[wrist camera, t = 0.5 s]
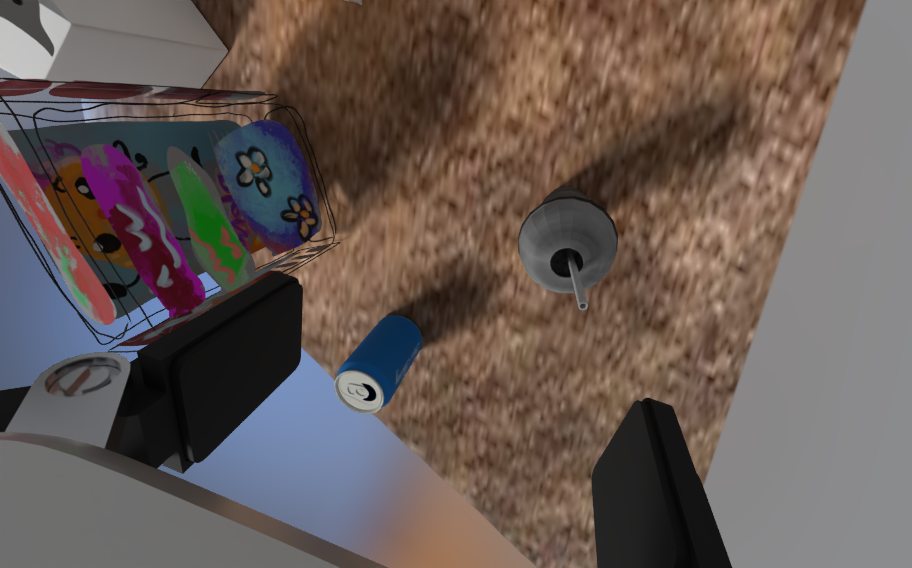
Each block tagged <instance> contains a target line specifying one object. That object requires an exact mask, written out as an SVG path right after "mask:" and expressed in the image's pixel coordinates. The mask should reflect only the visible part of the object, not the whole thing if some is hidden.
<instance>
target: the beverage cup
mask: <svg viewBox="0 0 912 568" xmlns="http://www.w3.org/2000/svg"><path fill="white" fill-rule="evenodd" d="M617 244H618V234H617V231H616V227H615V224H614V221H613V220H612V218H611V217H610V216H609V214H608V213H607V212H606V211H605V209H604V208H602V207H601V206H599V205H597V204H596V203H594V202H593V201H591V200H589V199H588V198H587V197H586V195H585V194H584V193H582V192H581V191H579V190H577V189H576V188H572V187H561V188H559V189H556V190H554V191H553V192H552V193H550V194H549V195H548V196H547V197H546V198H545V200H544V201H543V203H542V204H541V205H539V206H538V207H537V208H536V209H534V210H533V211H532V212H530V214H529V215H528V217H527V218H526V220H525V221H524V223H523V224H522V226H521V230H520V233H519V237H518V252H519V255H520V258H521V261H522V263H523V266H524V268H525V271H526V272H527V273H528V274H529V276H530V277H531V278H532V279H533V280H534V281H535V282H536V283H537V284H539V285H541V286H542V287H544V288H545V289H547V290H551V291H554V292H558V293H575V294H576V298H577V303H578V307H579V309H581V310H585V309H587V307H588V305H587V301H586V297H585V294H584V290H586V289H588V288H590V287H591V286H593V285H595V284H596V283H598V282H599V281H600V280H601V279H602V278H603V277H604V276H605V275H606V273H607V272H608V271H609V270H610V268H611V265H612V263H613V261H614V258H615V256H616V252H617Z"/></svg>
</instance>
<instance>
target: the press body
mask: <svg viewBox="0 0 912 568" xmlns="http://www.w3.org/2000/svg"><path fill="white" fill-rule="evenodd" d="M345 1H349V2H353V3H356V4H360V5H362V0H345Z"/></svg>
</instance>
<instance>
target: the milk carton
mask: <svg viewBox="0 0 912 568" xmlns="http://www.w3.org/2000/svg"><path fill="white" fill-rule="evenodd" d="M38 1H39V5H40V21H41V24H42V26H43V28H44V30H45V32H46V33H47V35H48V36H49V38H50V40H51V42H52V43H53V46H54V54H53V56H51V55H50V54H49V53H48V51H47V50H46V49H45V48H44V47H43V46H42V45H41V44H39V43H38V42H37V41H36V40H35V39H33V38H32V37H31V36H29V35H28V34H27V33H25V32H24V31H23V30H21V29H20V28H18V27H17V26H15V25H14V24H13V23H11V22H9V21H8V20H6V19H4V18H2V17H0V68H2V69H4V70H6V71H8V72H9V73H11V74H14V75H16V76H17V77H19V78H21V79H45V80H49V81H67V82H73V80H79V81H92V82H105V83H126V84H141V85H158V86H175V87H188V88H199V89H201V87H202V86H203V85H204V83H205V82H206V81H207V79H208V78H209V77H210V75H211V74H212V73H213V72H214V70H215V69H216V68H217V66H218V65H219V64H220V62H221V61H222V60H223V58H224V57H225V56H226V54H227V53H228V50H227V48H226V47H225V46H224V44H223V43H222V42H221V40H220V39H219V37H218V36H217V35H216V33H215V32H214V31H213V29H212V28H211V27H210V25H209V24H208V23H207V21H206V20H205V19H204V17H203V16H202V15H201V13H200V12H199V10H198V9H197V8H196V6H195V5H194V4H193V2H192V1H191V0H38ZM62 84H65V83H52V85H51V86H50V87H49V88H54V87H56V86H59V85H62ZM150 87H152V88H153V90H152V91H151V92H161V91H163V90H166V88H171V87H154V86H150Z"/></svg>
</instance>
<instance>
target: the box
mask: <svg viewBox="0 0 912 568" xmlns="http://www.w3.org/2000/svg"><path fill="white" fill-rule="evenodd" d="M0 17H2V18H4V19H6V20H8V21H9V22H11V23H13V24H14V25H15V26H17V27H18V28H20V29H21V30H23V31H24V32H25V33H27V34H28V35H29V36H31V37H32V38H33V39H35V40H36V41H37V42H38V43H39V44H41V45H42V46H43V47H44V48H45V49H46V50H47V51H48V53H49V54H50V55H51V56H53V54H54V46H53V43H52V42H51V40H50V38H49V36H48V35H47V33H46V32H45V30H44V28H43V26H42V24H41V21H40V5H39V1H38V0H0ZM0 79H5V80H8V81H4V82H0V99H1V101H0V102H4V104H5V105H6V106H7V108H8V109H9V110H10V111H11V113H12V114H10V113H0V114H7V115H13V116H14V118H15V120H16V121H17V123H18V125H19V127H20V128H21V130H12V131H7V130H6V129H5V127H4V126H3V125H2V123H1V122H0V176H1V178H2V179H3V181H4V182H5V183H6V185H7V186H8V188H9V189H10V191H11V192H12V194H13V195H14V197H15V198H16V200H17V201H18V203H19V204H20V206H21V207H22V209H23V211H24V212H25V214H26V215H27V217H28V219H29V220H30V222H31V223H32V225H33V227H34V228H35V230H36V232H37V233H38V235H39V237H40V239H41V241H42V243H43V245H44V247H45V249H46V251H47V252H48V254H49V256H50V258H51V259H52V261H53V263H54V264H55V266H56V268H57V269H58V271H59V272H60V274H61V275H62V277H63V278H64V280H65V282H66V284H67V286H68V288H69V290H70V292H71V293H72V295H73V297H74V299H75V300H76V302H77V303H78V305H79V306H80V307H81V309H82V310H83V311H84V313H85V314H86V315H87V316H88V317H90V318H91V319H92V320H94V321H95V322H98V323H100V324H104V325H109V324H111V323H113V322H114V320H115V319H117V318H120V317H122V316H124V315H127V316H128V318H129V315H128V313H130V312H131V311H133V310H135V309H136V308H138V307H140V309H141V310H142V312H143V314H144V315H145V317H146V318H145V319H144V320H146V319H147V321H148V322H149V324H150V326H151V327H152V328H150V329H148V330H147V331H144V332H142V333H140V334H138V335H137V336H134V337H132V338H130V339H128V340H126V341H124V342H122V343H120V344H118V345H117V346H115V347H113V348H112V349H114V348H116V347H118V346H139V345H148V344H151V343H152V342H154V341H156V340H158V339H159V338H161V337H163V336H165V335H166V334H168V333H170V332H171V331H173V330H175V329H177V328H178V327H180V326H182V325H184V324H185V323H187V322H189V321H190V320H192V319H194V318H195V317H197V316H199V315H200V314H202V313H204V312H206V311H207V310H209V309H211V308H213V307H215V306H216V305H218V304H220V303H222V302H223V301H225V300H227V299H228V298H230V297H232V296H234V295H235V294H237V293H239V292H241V291H242V290H244V289H246V288H247V287H249V286H251V285H253V284H254V283H256V282H258V281H260V280H261V279H263V278H265V277H266V276H268V275H270V274H272V273H274V272H281V271H270V270H271V269H272V268H274V267H275V266H276V267H275V268H280V267H287V266H292V265H295V264H297V263H298V262H292V263H287V264H282V265H279V264H280V263H282V262H284V261H285V260H287V259H289V258H290V257H292V256H294V255H296V254H298V253H300V252H298V251H300V250H298V251H296V252H298V253H296V252H294V253H293V254H291V255H289V256H287V257H285V258H283V259H281V260H279V261H276V260H278V259H280V258H281V257H280V258H278V259H276V260H274V261H276V262H274V261H272V262H274V263H272V262H270V263H272V264H270V263H268V264H270V265H268V266H266V267H265V268H263V269H261V270H259V271H257V272H255V270H256V269H258V268H260V267H258V268H256V269H255V263H254V260H253V258H252V256H251V254H252V253H254V252H256V251H258V250H260V249H262V248H264V247H267V248H268V249H269V250H270V251H272V255H273V256H276V255H278V254H281V253H283V252H286V251H288V250H291V249H293V251H294V248H295V247H298V246H300V245H302V244H304V243H305V242H307V241H308V240H309V239H310V238H311V237H312V236H314V235H315V234H316V233H317V232H319V231H320V229H321V226H322V220H321V214H320V208H319V201H318V197H317V193H316V190H315V187H314V183H313V180H312V177H311V174H310V171H309V168H308V165H307V163H306V161H305V158H304V156H303V154H302V152H301V150H300V148H299V146H298V144H297V142H296V140H295V139H294V137H293V135H292V134H291V133H290V131H289V130H288V129H287V128H286V127H285V126H284V125H283V124H281V123H280V122H277V121H274V120H265V118H266V116H267V114H268V113H270V112H272V111H274V110H277V109H279V108H277V109H274V110H272V111H270V112H268V113H267V114H266V116H265V118H264V120H260V121H256V122H252V120H251V119H250V118H249V117H248V116H247V117H248V118H249V119H250V120H251V122H252V123H250V124H248V125H245V126H243V127H241V126H240V125H238V124H237V123H235V122H233V121H229V120H217V121H180V122H164V121H156V122H132V121H120V122H92V123H79V124H70V125H60V126H50V127H43V128H37V125H36V121H35V118H36V117H35V115H36V114H37V113H39V112H40V111H42V110H45V109H52V110H57V111H62V112H76V111H84V110H90V109H93V108H96V107H99V106H102V105H108V104H122V105H172V104H188V105H194V106H201V107H213V108H216V107H226V106H231V105H244V104H257V103H259V104H273V103H261V102H249V103H235V104H230V103H198V104H230V105H225V106H202V105H195V104H189V103H184V102H189V101H193V100H197V101H196V103H197V102H198V101H200V100H247V99H252V98H256V97H259V96H262V95H275V94H265V92H261V91H230V90H213V89H199V88H188V87H175V86H158V85H141V84H126V83H105V82H92V81H79V80H73V82H67V81H49V80H45V79H14V78H0ZM52 83H65V84H62V85H59V86H56V87H54V88H53V89H51V90H50V91H49V94H50V95H53V96H59V97H69V98H85V99H120V98H127V97H133V96H138V95H142V94H146V93H148V92H151V91H152V90H153V88H152V87H150V86H154V87H171V88H166V90H163V91H161V92H158V93H155V94H153V95H150V96H147V97H145V98H155V99H182V100H188V101H184V102H178V103H167V104H155V103H119V102H50V101H48V102H47V101H5V100H4V99H3V98H2V97H1V96H16V95H24V94H31V93H36V92H39V91H42V90H44V89H47V88H49V87H50V86H51V85H52ZM276 97H277V95H276ZM276 97H274V98H276ZM274 98H271V99H274ZM271 99H269V100H271ZM269 100H266V101H269ZM6 102H34V103H35V102H37V103H104V104H100V105H97V106H94V107H91V108H86V109H80V110H74V111H64V110H59V109H54V108H43V109H40V110H38V111H37V112H35V113H34V114H33V117H31V116H25V115H19V114H14V112H13V111H12V110H11V108H10V107H9V106H8V104H7V103H6ZM262 102H265V101H262ZM274 105H280V104H274ZM281 106H283V105H281ZM283 107H284V108H285V107H290V106H283ZM283 107H280V108H283ZM291 108H293V107H291ZM285 109H286V108H285ZM293 109H295V108H293ZM286 110H287V109H286ZM295 110H296V109H295ZM287 111H288V110H287ZM288 112H289V111H288ZM296 112H297V110H296ZM227 113H228V112H227ZM289 113H290V112H289ZM297 113H298V112H297ZM174 114H175V113H174ZM219 114H226V113H219ZM230 114H233V113H230ZM16 115H17V116H23V117H29V118H33V121H34V126H35V129H23V128H22V126H21V124H20V123H19V121H18V119H17V117H16ZM187 115H217V114H187ZM187 115H178V116H174V115H173V116H157V117H131V116H116V117H106V118H97V119H87V120H74V121H53V120H47V119H42V118H36V119H41V120H46V121H52V122H77V121H90V120H99V119H108V118H118V117H130V118H160V117H179V116H187ZM233 115H243V114H233ZM290 115H291V113H290ZM298 115H299V113H298ZM244 116H246V115H244ZM291 116H292V115H291ZM299 116H300V115H299ZM292 118H293V116H292ZM300 118H301V116H300ZM293 119H294V118H293ZM301 119H302V118H301ZM294 121H295V120H294ZM302 121H303V120H302ZM295 124H296V122H295ZM303 124H304V122H303ZM296 126H297V124H296ZM297 128H298V126H297ZM304 128H305V125H304ZM298 130H299V128H298ZM299 133H300V131H299ZM305 133H306V129H305ZM300 135H301V133H300ZM301 137H302V135H301ZM306 137H307V134H306ZM302 139H303V137H302ZM307 140H308V137H307ZM303 141H304V140H303ZM308 142H309V140H308ZM304 144H305V142H304ZM309 144H310V142H309ZM305 146H306V144H305ZM310 147H311V145H310ZM306 149H307V146H306ZM311 149H312V147H311ZM307 151H308V149H307ZM312 152H313V149H312ZM308 154H309V152H308ZM313 155H314V152H313ZM309 157H310V155H309ZM314 158H315V155H314ZM310 160H311V158H310ZM315 161H316V158H315ZM311 163H312V161H311ZM316 165H317V162H316ZM312 167H313V164H312ZM317 168H318V166H317ZM313 170H314V167H313ZM318 171H319V169H318ZM314 173H315V170H314ZM319 174H320V171H319ZM320 176H321V174H320ZM315 177H316V174H315ZM321 179H322V177H321ZM316 180H317V177H316ZM322 182H323V179H322ZM317 183H318V180H317ZM323 185H324V183H323ZM318 186H319V184H318ZM0 187H1V188H0V191H1V193H2V195H3V197H4V199H5V200H6V202H7V204H8V206H9V208H10V209H11V211H12V213H13V215H14V217H15V219H16V220H17V222H18V224H19V225H20V228H21V229H22V231H23V233H24V235H25V237H26V239H27V240H28V242H29V244H30V245H31V247H32V248H33V250H34V252H35V254H36V255H37V257H38V259H39V260H40V262H41V264H42V265H43V267H44V268H45V270H46V271H47V273H48V274H49V276H50V277H51V279H52V280H53V282H54V283H55V284H56V286H57V287H58V289H59V290H60V291H61V293H62V294H63V296H64V297H65V298H66V300H67V301H68V302H69V303H70V304H71V306H72V307H73V308H74V309H75V310H76V311H77V313H78V315H79V316H80V318H81V319H82V321H83V322H84V323H85V325H86V326H87V324H88V325H89V326H90V327H91V328H92V329H93V330H94V331H95V332H96V333H98V334H100V335H104V336H107V337H110V338H113V340H115V339H121V338H123V336H124V334H125V332H127V331H128V330H130V329H132V328H133V327H135V326H136V325H137V324H136V325H134V326H133V327H131V328H130V329H128V330H126V329H127V326H128V324H127V325H126V327H125V330H124V332H123V333H121V334H123V335H122V337H120V338H117V337H118V336H120V335H121V334H119V335H118V336H117V337H115V338H114V337H112V336H109V335H105V334H101V333H99V332H97V331H96V330H95V329H94V328H93V327H92V326H91V325H90V324H89V322H87V320H86V319H85V318H84V317H83V316H82V315H81V314H80V312H79V311H78V310H77V309H76V308H75V306H74V305H73V304H72V303H71V301H70V300H69V299H68V298H67V296H66V295H65V294H64V293H63V291H62V290H61V288H60V286H59V285H58V283H57V282H56V280H55V278H54V276H53V274H52V272H51V270H50V268H49V266H48V264H47V262H46V260H45V258H44V256H43V255H42V253H41V252H40V250H39V248H38V246H37V244H36V243H35V241H34V239H33V238H32V236H31V235H30V234H29V232H28V230H27V229H26V227H25V226H24V224H23V223H22V221H21V220H20V218H19V216H18V214H17V212H16V210H15V209H14V207H13V205H12V203H11V201H10V200H9V198H8V196H7V195H6V193H5V191H4V189H3V187H2V186H1V184H0ZM319 189H320V186H319ZM324 190H325V186H324ZM320 191H321V189H320ZM4 194H5V195H4ZM321 194H322V192H321ZM325 194H326V191H325ZM5 196H6V197H5ZM322 197H323V195H322ZM326 199H327V195H326ZM323 200H324V197H323ZM8 201H9V202H8ZM9 203H10V204H9ZM324 203H325V200H324ZM327 203H328V200H327ZM10 205H11V206H10ZM325 206H326V204H325ZM328 206H329V204H328ZM11 207H12V208H11ZM329 209H330V207H329ZM13 210H14V211H13ZM326 210H327V207H326ZM330 211H331V209H330ZM14 212H15V213H14ZM15 214H16V215H15ZM327 214H328V211H327ZM331 214H332V212H331ZM16 216H17V217H16ZM332 217H333V214H332ZM17 218H18V219H19V220H18V219H17ZM328 218H329V215H328ZM333 220H334V218H333ZM19 221H20V222H19ZM329 221H330V219H329ZM20 223H21V224H22V226H23V227H24V229H25V230H26V231H27V233H28V235H29V236H30V237H31V239H32V241H33V242H34V244H35V246H36V248H37V249H38V251H39V253H40V254H41V256H42V258H43V260H44V261H45V263H46V265H47V267H48V269H49V271H50V273H51V274H50V273H49V272H48V270H47V268H46V267H45V265H44V264H43V262H42V260H41V259H40V257H39V255H38V254H37V252H36V250H35V249H34V247H33V245H32V244H31V242H30V240H29V239H28V237H27V235H26V233H25V231H24V230H23V228H22V226H21V224H20ZM330 224H331V222H330ZM334 225H335V221H334ZM331 227H332V225H331ZM332 230H333V227H332ZM335 234H336V227H335ZM333 235H334V231H333ZM331 238H333V237H331ZM327 239H330V238H327ZM323 240H326V239H323ZM309 241H310V240H309ZM320 241H322V240H320ZM333 241H334V239H333ZM311 242H318V241H311ZM337 243H338V244H340V242H337ZM331 244H335V243H333V242H332V243H331ZM331 244H328V245H329V246H330V245H331ZM338 244H337V245H338ZM329 246H326V245H323V246H322V247H321V246H317V248H315V247H312V248H313V249H310V248H307V249H310V250H308V251H307V252H314V251H319V250H321V251H322V250H324V249H325V248H327V247H329ZM335 246H336V245H335ZM335 246H333V247H335ZM333 247H332V248H333ZM330 249H331V248H330ZM330 249H328V250H330ZM302 250H305V249H302ZM328 250H327V251H328ZM293 251H291V252H293ZM321 251H319V252H321ZM291 252H289V253H291ZM307 252H305V253H307ZM319 252H318V253H319ZM325 252H326V251H325ZM325 252H323V253H325ZM289 253H287V254H289ZM318 253H316V254H318ZM323 253H322V254H323ZM287 254H285V255H287ZM316 254H310V255H304V256H298V257H295V258H293V259H303V258H307V257H310V258H311V257H313V256H315V255H316ZM285 255H284V256H285ZM320 255H321V254H320ZM320 255H318V256H320ZM318 256H317V257H318ZM282 257H283V256H282ZM315 258H316V257H315ZM315 258H313V259H315ZM308 259H309V258H308ZM308 259H306V260H308ZM313 259H312V260H313ZM291 260H292V259H291ZM306 260H304V261H306ZM304 261H302V262H304ZM310 261H311V260H310ZM310 261H308V262H310ZM302 262H300V263H302ZM308 262H306V263H308ZM300 263H299V264H300ZM306 263H305V264H306ZM299 264H297V265H299ZM305 264H303V265H305ZM265 265H267V264H265ZM265 265H263V266H265ZM277 265H279V266H277ZM297 265H295V266H297ZM303 265H301V266H303ZM295 266H293V267H295ZM301 266H300V267H301ZM261 267H262V266H261ZM293 267H291V268H293ZM300 267H298V268H300ZM291 268H289V269H291ZM298 268H296V269H298ZM289 269H287V270H289ZM296 269H295V270H296ZM287 270H285V271H287ZM295 270H293V271H295ZM285 271H283V272H285ZM293 271H291V272H293ZM204 272H207V273H208V274H209V275H210V276H211V277H212V279H213V280H214V281H216V283H217V284H218V285H219V286H220V287H221V291H219V292H217V293H215V294H213V295H211V296H210V297H208V298H206V299H205V293H206V292H208V291H210V290H208V291H206V292H205V288H204V286H203V284H202V282H201V280H200V279H199V278H198V277H197V276H198V275H200V274H202V273H204ZM283 272H281V273H283ZM291 272H290V273H291ZM290 273H288V274H290ZM288 274H287V275H288ZM51 275H52V276H51ZM219 286H217V287H219ZM217 287H216V288H217ZM214 289H215V288H214ZM211 290H213V289H211ZM155 297H158V299H159V300H160V301H161V303H162V304H163V305H164V307H165V309H167V310H169V318H168V319H166V320H167V321H166V320H164V321H163V322H161V323H159V324H158V325H156V326H154V327H153V326H152V324H151V323H150V321H149V319H148V318H149V317H150V316H149V317H147V316H146V314H145V312H144V311H143V309H142V308H141V305H143V304H144V303H146V302H148V301H149V300H151V299H153V298H155ZM165 309H163V310H165ZM163 310H160V311H158V312H161V311H163ZM158 312H156V313H158ZM156 313H154V314H156ZM154 314H152V315H151V316H153V315H154ZM84 320H85V321H86V322H87V324H86V322H85V321H84ZM129 320H130V318H129ZM144 320H142V321H144ZM130 321H131V320H130ZM142 321H140V322H139V323H141V322H142ZM139 323H138V324H139ZM87 328H88V329H89V330H90V331H91V332H92V333H93V331H92V330H91V329H90V328H89V327H88V326H87ZM93 335H94V336H95V338H96V340H97V341H98V342H99V340H98V339H97V337H96V335H95V334H94V333H93ZM113 340H112V341H113ZM112 341H110V342H109V343H111V342H112ZM99 343H100V342H99ZM109 343H106V344H109ZM100 344H101V345H106V344H102V343H100ZM110 350H111V349H110ZM138 351H139V350H138ZM109 352H116V353H117V352H124V351H109ZM125 352H137V351H125Z"/></svg>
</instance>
